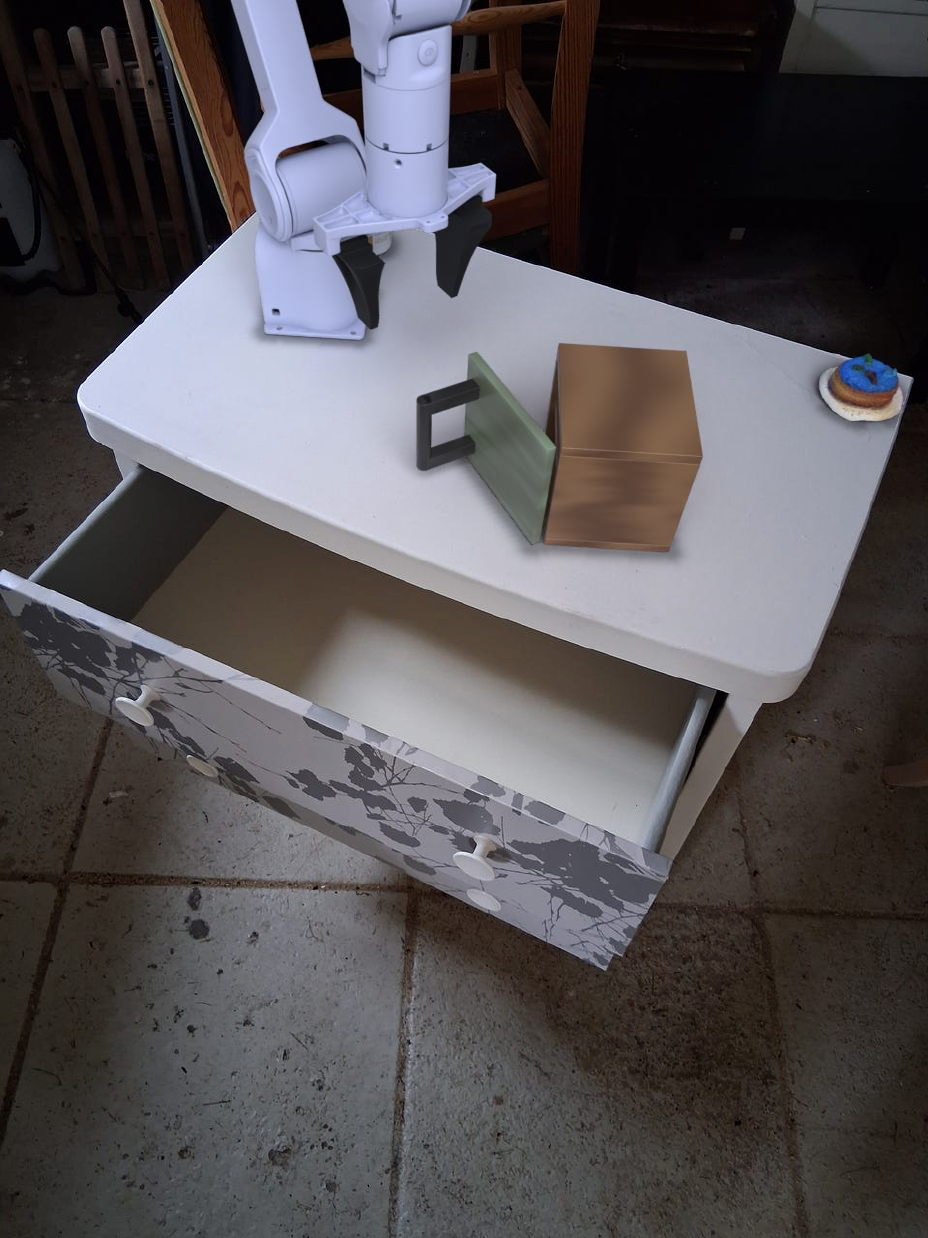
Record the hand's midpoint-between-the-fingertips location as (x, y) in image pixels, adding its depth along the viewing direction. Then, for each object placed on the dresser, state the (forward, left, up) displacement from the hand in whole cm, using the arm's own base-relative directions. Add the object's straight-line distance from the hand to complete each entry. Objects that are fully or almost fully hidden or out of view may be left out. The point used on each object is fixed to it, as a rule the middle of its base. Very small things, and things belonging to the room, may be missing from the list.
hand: (408, 305), depth 71 cm
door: (+6, -12, -10) cm, 17 cm away
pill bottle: (-6, +24, -10) cm, 27 cm away
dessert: (+42, +3, -12) cm, 44 cm away
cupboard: (+17, -10, -10) cm, 22 cm away
